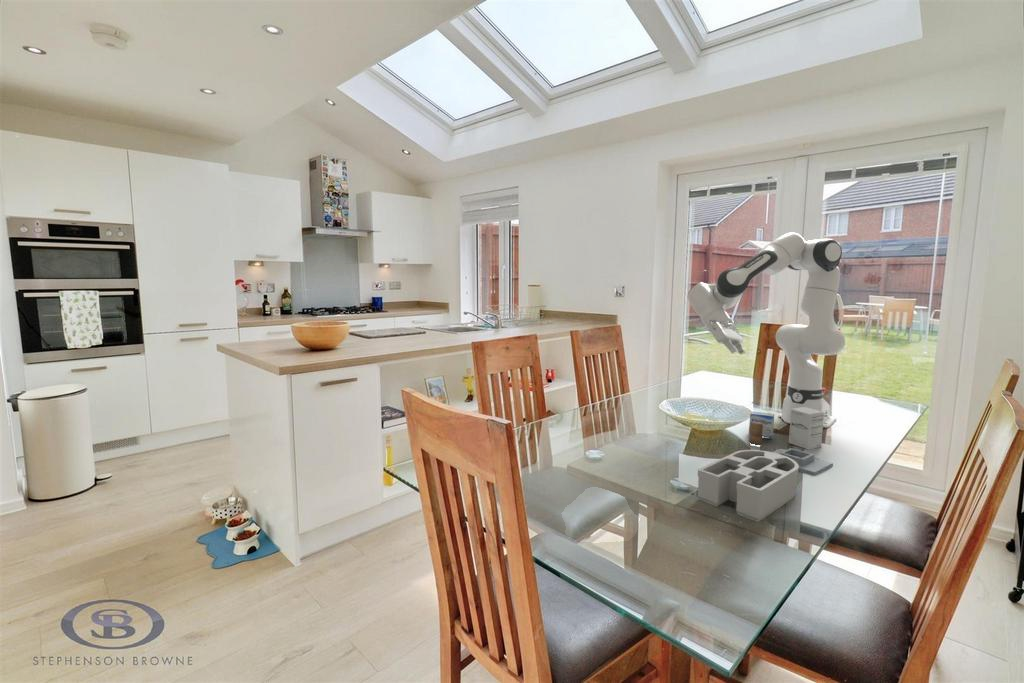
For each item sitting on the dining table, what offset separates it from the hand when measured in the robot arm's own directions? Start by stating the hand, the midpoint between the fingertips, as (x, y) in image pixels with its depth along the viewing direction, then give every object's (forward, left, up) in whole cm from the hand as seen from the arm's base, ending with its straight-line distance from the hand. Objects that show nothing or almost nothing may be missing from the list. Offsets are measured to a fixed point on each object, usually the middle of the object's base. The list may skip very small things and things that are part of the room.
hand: (739, 353), depth 175 cm
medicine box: (-9, +5, -32) cm, 33 cm away
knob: (+2, +9, -31) cm, 33 cm away
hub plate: (+7, +25, -31) cm, 41 cm away
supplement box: (-12, +19, -32) cm, 39 cm away
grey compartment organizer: (+40, +29, -32) cm, 59 cm away
